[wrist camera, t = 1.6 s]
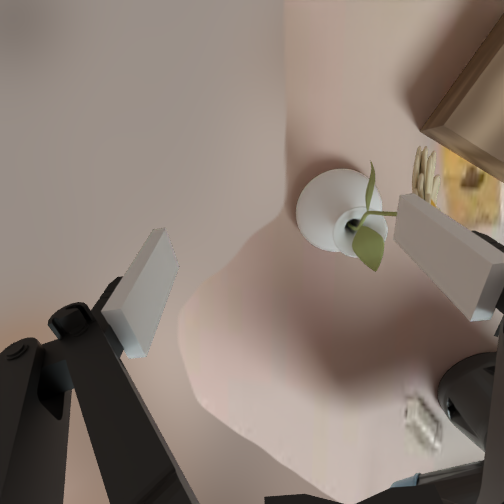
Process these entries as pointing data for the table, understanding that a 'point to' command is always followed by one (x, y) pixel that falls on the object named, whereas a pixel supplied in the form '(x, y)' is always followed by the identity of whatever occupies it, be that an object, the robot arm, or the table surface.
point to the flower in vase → (356, 209)
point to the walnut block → (475, 109)
